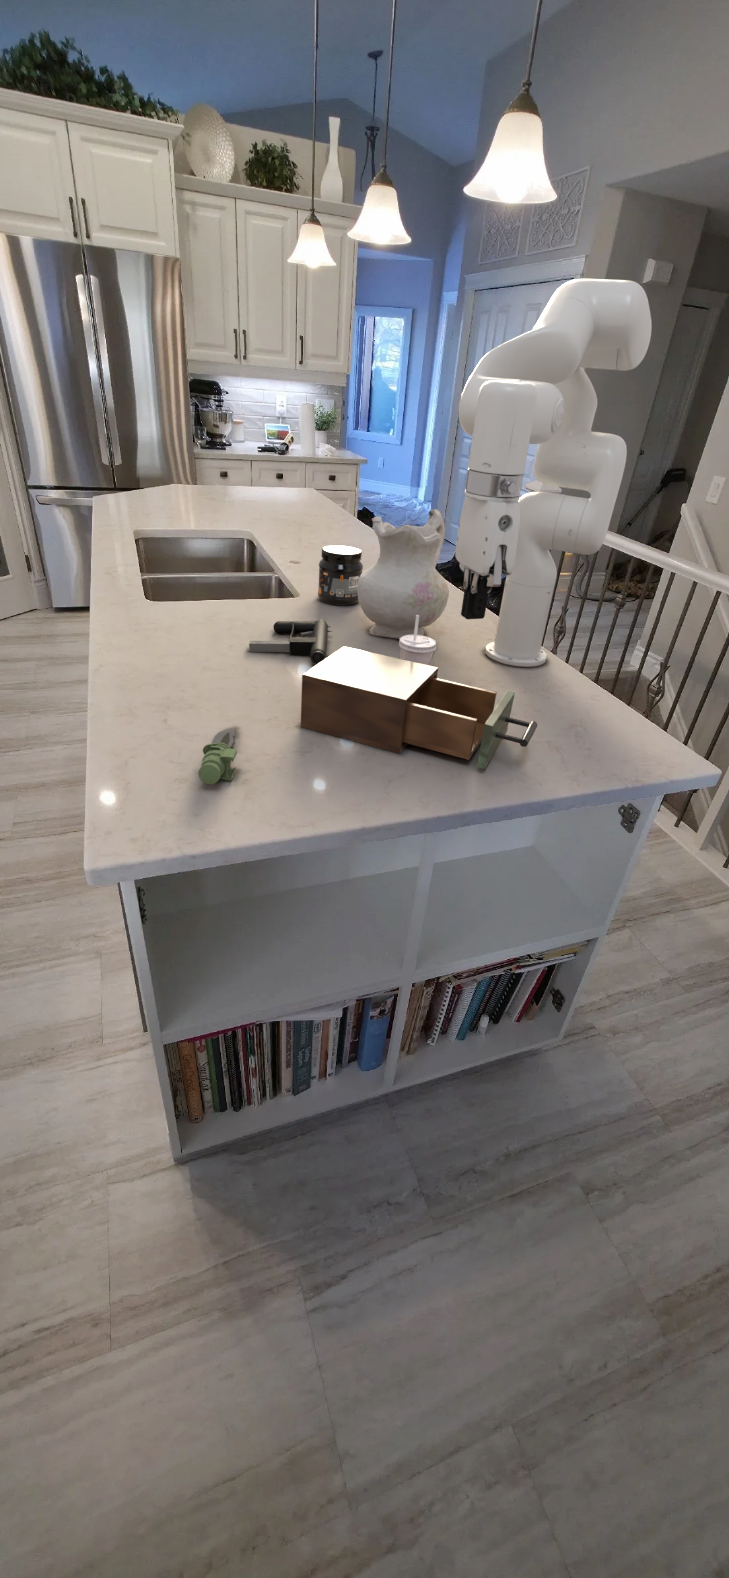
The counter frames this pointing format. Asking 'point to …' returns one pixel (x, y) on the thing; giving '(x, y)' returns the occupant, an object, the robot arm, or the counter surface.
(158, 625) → the counter surface
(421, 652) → the smoothie
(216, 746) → the knife
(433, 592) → the ceramic pitcher
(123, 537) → the counter surface
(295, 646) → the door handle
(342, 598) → the supplement container
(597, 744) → the counter surface
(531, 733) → the drawer
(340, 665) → the cabinet
